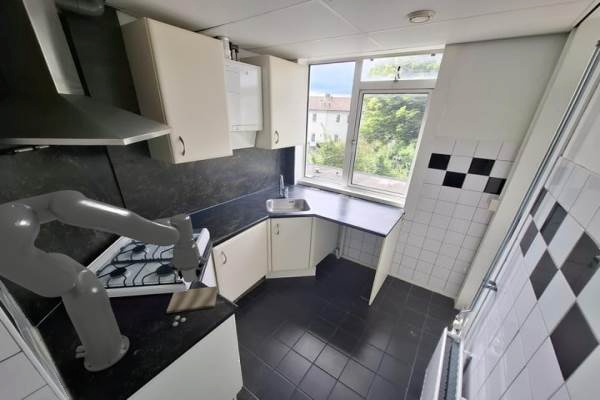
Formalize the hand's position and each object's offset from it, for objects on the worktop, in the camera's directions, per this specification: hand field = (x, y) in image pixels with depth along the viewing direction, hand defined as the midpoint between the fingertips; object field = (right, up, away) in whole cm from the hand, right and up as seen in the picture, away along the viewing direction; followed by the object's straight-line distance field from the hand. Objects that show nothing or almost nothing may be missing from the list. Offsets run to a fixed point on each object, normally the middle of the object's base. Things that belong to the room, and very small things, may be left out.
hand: (190, 275), depth 100 cm
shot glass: (0, -1, +1) cm, 1 cm away
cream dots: (-2, -17, -6) cm, 18 cm away
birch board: (-1, -13, +5) cm, 14 cm away
